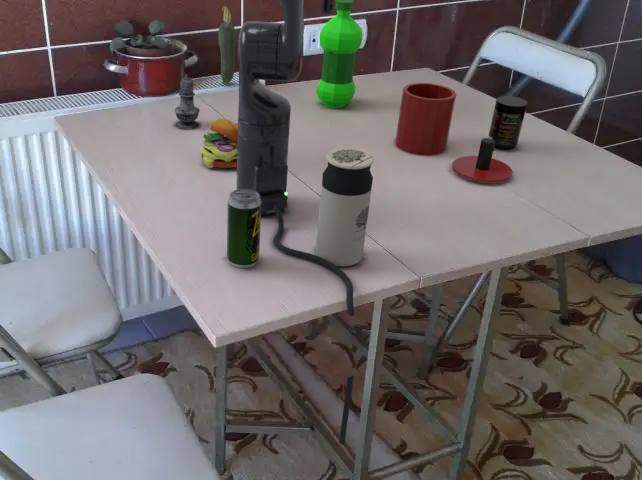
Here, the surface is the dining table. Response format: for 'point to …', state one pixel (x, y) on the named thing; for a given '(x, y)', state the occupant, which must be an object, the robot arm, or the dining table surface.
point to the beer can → (243, 228)
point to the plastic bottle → (339, 56)
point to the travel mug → (344, 206)
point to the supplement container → (507, 122)
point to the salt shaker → (187, 106)
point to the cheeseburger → (221, 145)
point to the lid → (483, 165)
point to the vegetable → (227, 47)
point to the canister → (425, 118)
